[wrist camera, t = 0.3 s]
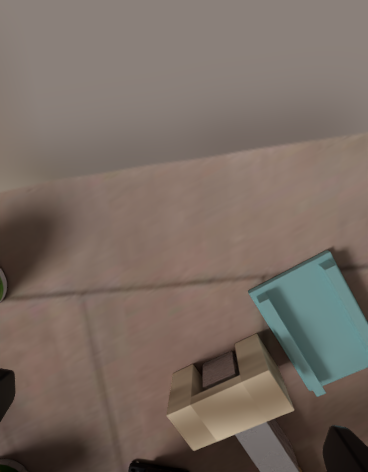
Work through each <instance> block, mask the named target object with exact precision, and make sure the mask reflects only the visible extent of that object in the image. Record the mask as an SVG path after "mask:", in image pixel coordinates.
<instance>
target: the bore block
mask: <svg viewBox="0 0 368 472" xmlns="http://www.w3.org/2000/svg"><path fill="white" fill-rule="evenodd" d="M235 349H236V355H237V360H238V366H239V372H240V375H239V376H237V377H234V378H232V379H230V380H228V381H226V382H223V383H221V384H219V385H217V386H214V387H212V388H210V389H208V390H206V391H204V389H203V378H202V376H201V375H200V374H199V372H198V371H197V369H196V368H195V366H194V365H193V364H192V365H190V366H188V367H186V368H183V369H181V370H179V371H177V372H175V373H173V377H172V383H171V390H170V396H169V402H168V409H167V415H166V416H167V417H168V418H169V420H170V421H171V422H172V424H173V425H174V426H175V427H176V429H177V430H178V431H179V433H180V434H181V435H182V437H183V438H184V439H185V441H186V442H187V443H188V445H189V446H190V447H191V448H192V450H193V451H195V450H197V449H200V448H202V447H205V446H207V445H210V444H212V443H215V442H217V441H220V440H222V439H225V438H227V437H230V436H232V435H235V434H237V433H240V432H242V431H245V430H247V429H250V428H252V427H255V426H257V425H260V424H262V423H265V422H267V421H270V420H272V419H274V418H277V417H279V416H282V415H284V414H287V413H289V412H292V411H294V407H293V405H292V402H291V400H290V397H289V394H288V392H287V389H286V386H285V384H284V381H283V379H282V376H281V373H280V371H279V368H278V366H277V365H276V363H275V361H274V360H273V358H272V357H271V355H270V354H269V352H268V350H267V349H266V347H265V346H264V344H263V343H262V341H261V339H260V338H259V336H258V335H257V333H256V334H254V335H252V336H250V337H248V338H246V339H244V340H242V341H240V342H238V343H236V344H235Z"/></svg>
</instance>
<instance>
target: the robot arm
mask: <svg viewBox="0 0 368 472" xmlns="http://www.w3.org/2000/svg"><path fill="white" fill-rule="evenodd" d="M14 397H15V374H14V372H13V371H12V370H8V369H2V368H0V422H1V420H2V418H3V417H4V415H5V413H6V412H7V410H8V409H9V407H10V405H11V404H12V402H13V400H14ZM323 458H324V462H325V466H326V470H327V472H368V447H367V446H366V445H365V444H364V443H363V442H362V441H361V440H360V439H359V438H358V437H357V436H356V435H355V434H354V433H353V432H352V431H351V430H349V429H348V428H346V427H341V426H335V425H332V426H331V427H330V428H329V430H328V433H327V436H326V439H325V442H324V445H323ZM128 472H188V471H185V470H178V469H172V468H166V467H160V466H154V465H147V464H141V463H135V462H132V463H131V464H130V466H129V471H128Z"/></svg>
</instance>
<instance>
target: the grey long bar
mask: <svg viewBox="0 0 368 472" xmlns="http://www.w3.org/2000/svg"><path fill="white" fill-rule="evenodd" d="M239 375H240V372H239V366H238V360H237V359H236V357H235V355H234V354H233V352H232V351H230V352H228V353H226V354H224V355H221V356H219V357H217V358H215V359H213V360H210V361H208V362H206V363H204V364H203V389H204V391H206V390H208V389H210V388H212V387H214V386H217V385H219V384H221V383H223V382H226V381H228V380H230V379H232V378H234V377H237V376H239ZM235 436H236V437H237V439H238V440H239V442H240V443H241V445H242V446H243V447H244V449H245V450H246V452H247V453H248V455H249V456H250V458H251V459H252V461H253V462H254V463H255V465H256V466H257V468H258V469H259V471H260V472H300V470H299V467H298V464H297V460H296V457H295V454H294V451H293V448H292V445H291V443H290V441H289V440H288V438H287V437H286V435H285V434H284V432H283V430H282V429H281V427H280V426H279V424H278V423H277V421H276V419H275V418H274V419H272V420H270V421H267V422H265V423H262V424H260V425H257V426H255V427H252V428H250V429H247V430H245V431H242V432H240V433H237V434H235Z"/></svg>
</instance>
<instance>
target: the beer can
mask: <svg viewBox="0 0 368 472" xmlns="http://www.w3.org/2000/svg"><path fill="white" fill-rule="evenodd" d="M0 472H28V471H27V470H26V468H25V467H24V466H22V465H21V464H20V463H18V462H16V461H14V460H10V459H0Z"/></svg>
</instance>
